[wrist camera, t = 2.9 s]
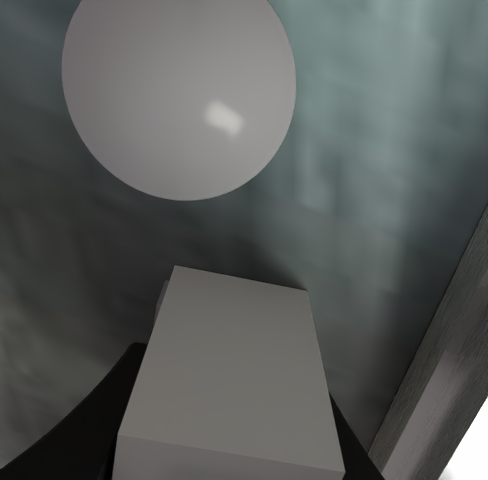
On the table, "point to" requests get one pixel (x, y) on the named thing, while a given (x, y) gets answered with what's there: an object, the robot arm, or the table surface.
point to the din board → (445, 386)
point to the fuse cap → (179, 91)
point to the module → (229, 387)
